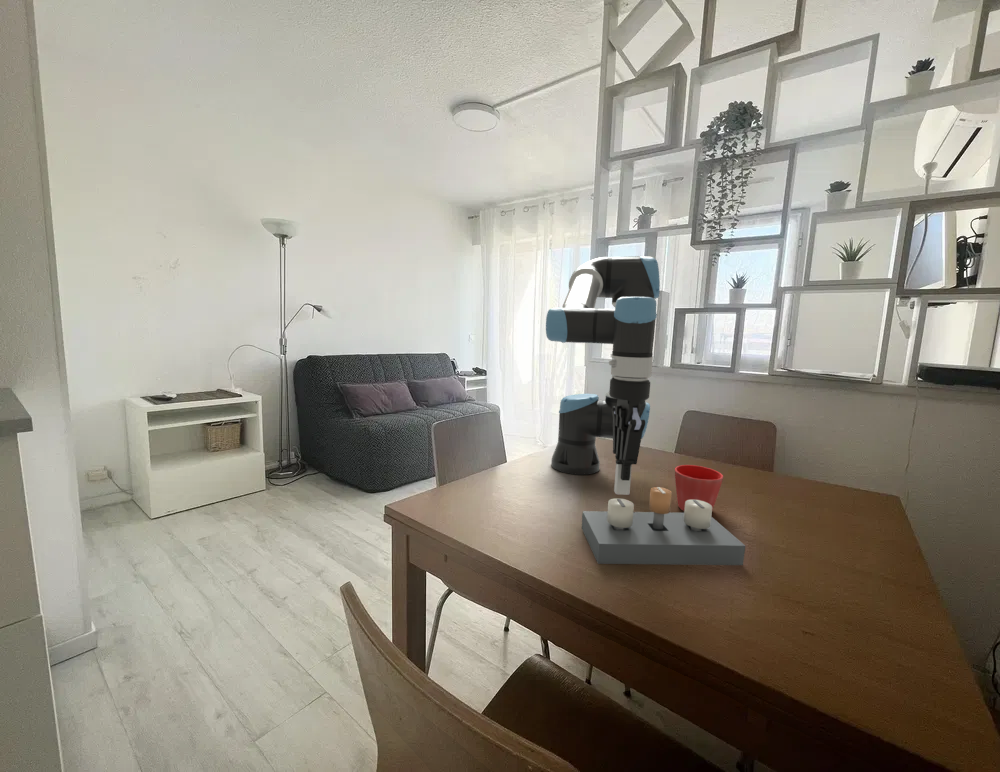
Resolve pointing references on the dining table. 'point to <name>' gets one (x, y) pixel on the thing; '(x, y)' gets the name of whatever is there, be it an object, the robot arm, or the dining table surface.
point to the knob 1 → (620, 513)
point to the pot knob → (659, 505)
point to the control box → (660, 541)
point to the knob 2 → (697, 514)
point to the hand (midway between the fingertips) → (621, 492)
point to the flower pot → (697, 484)
